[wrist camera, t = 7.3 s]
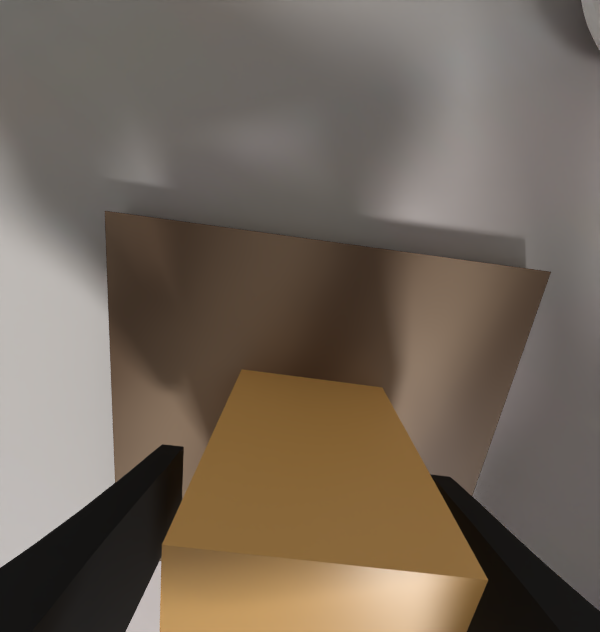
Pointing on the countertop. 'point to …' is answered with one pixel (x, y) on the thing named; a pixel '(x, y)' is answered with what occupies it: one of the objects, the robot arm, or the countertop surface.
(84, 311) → the countertop surface
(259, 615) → the golden yellow cube
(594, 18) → the white ridged ball
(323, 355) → the flat brown square board
